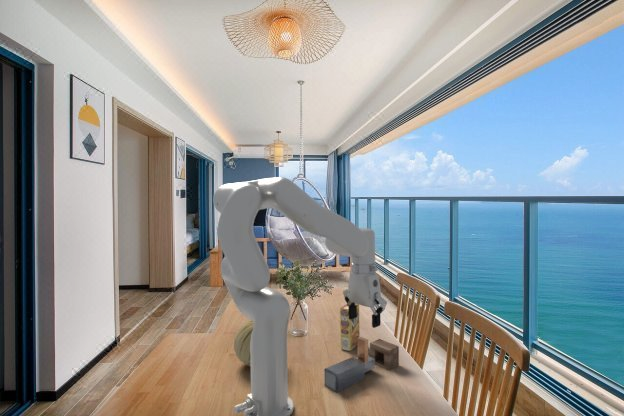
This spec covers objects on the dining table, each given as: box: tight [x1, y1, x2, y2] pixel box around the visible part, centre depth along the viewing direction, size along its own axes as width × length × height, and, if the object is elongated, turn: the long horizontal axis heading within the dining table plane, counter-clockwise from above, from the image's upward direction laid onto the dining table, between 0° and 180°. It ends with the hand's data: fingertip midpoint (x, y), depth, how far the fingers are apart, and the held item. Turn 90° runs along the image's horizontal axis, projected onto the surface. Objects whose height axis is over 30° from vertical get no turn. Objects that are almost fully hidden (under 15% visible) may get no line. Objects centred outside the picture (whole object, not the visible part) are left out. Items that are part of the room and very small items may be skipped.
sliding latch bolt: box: [357, 336, 376, 373], centre depth 111 cm, size 16×3×10 cm, turn 130°
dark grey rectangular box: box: [323, 356, 366, 393], centre depth 108 cm, size 12×5×5 cm, turn 130°
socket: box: [369, 339, 400, 371], centre depth 120 cm, size 5×8×6 cm, turn 40°
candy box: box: [339, 303, 361, 352], centre depth 134 cm, size 9×4×15 cm, turn 150°
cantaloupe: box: [233, 320, 254, 368], centre depth 120 cm, size 15×15×15 cm
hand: (364, 322), depth 113 cm, fingers open, 9 cm apart
